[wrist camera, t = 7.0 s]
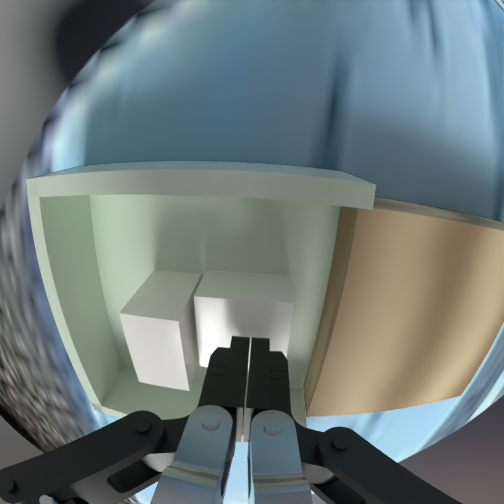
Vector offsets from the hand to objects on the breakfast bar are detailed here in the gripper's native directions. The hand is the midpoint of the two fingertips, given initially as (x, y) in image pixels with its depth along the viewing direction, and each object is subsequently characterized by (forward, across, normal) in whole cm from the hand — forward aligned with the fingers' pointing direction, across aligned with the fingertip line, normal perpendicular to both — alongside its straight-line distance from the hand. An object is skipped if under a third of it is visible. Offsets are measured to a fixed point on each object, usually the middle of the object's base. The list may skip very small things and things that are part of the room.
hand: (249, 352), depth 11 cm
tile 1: (+3, 0, 0) cm, 3 cm away
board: (+4, -10, 0) cm, 10 cm away
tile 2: (+1, +3, 0) cm, 3 cm away
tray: (+4, +3, 0) cm, 5 cm away
